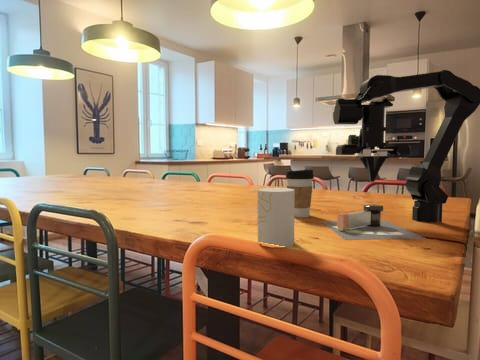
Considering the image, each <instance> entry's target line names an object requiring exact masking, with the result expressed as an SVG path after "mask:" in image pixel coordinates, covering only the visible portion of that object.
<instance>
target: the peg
mask: <svg viewBox="0 0 480 360" xmlns="http://www.w3.org/2000/svg"><path fill="white" fill-rule="evenodd" d="M362 206H363V210H362V211H361V210H360V211H354V212H353V211H352V212H341V213H340V212H339V213H337V228H338V229H343V230H344V229H349V228H354V227H360V226H370V227H380V221H382V220H381V217H382V215H381V214H382V213H381V212H384V205H382V204H372V203H371V204H369V203H368V204H363V205H362Z"/></svg>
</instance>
